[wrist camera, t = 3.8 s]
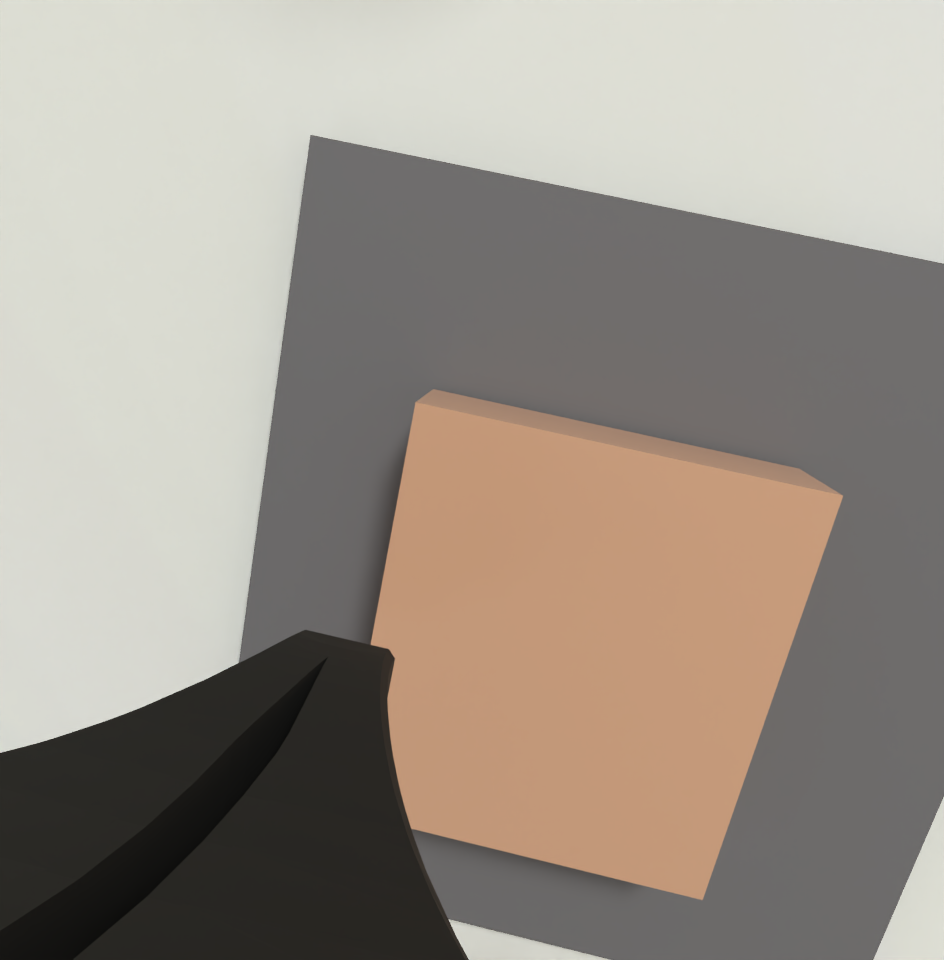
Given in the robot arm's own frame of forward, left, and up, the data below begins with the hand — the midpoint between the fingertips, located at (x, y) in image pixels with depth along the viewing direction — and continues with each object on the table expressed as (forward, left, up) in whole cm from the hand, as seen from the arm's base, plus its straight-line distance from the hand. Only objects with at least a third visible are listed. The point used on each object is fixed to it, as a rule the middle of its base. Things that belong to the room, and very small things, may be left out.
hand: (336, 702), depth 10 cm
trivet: (0, -4, -5) cm, 7 cm away
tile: (0, 0, -4) cm, 4 cm away
